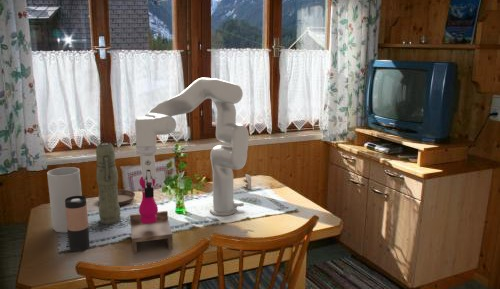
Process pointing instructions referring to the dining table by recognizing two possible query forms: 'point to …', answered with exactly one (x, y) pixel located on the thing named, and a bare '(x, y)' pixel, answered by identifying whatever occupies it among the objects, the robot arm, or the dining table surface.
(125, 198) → the plant saucer
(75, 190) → the cylinder vase
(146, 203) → the pepper mill
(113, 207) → the stone totem statue
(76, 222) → the travel mug
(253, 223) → the dining table surface
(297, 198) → the dining table surface
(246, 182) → the architectural model
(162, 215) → the walnut shelf
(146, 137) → the robot arm
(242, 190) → the dining table surface
